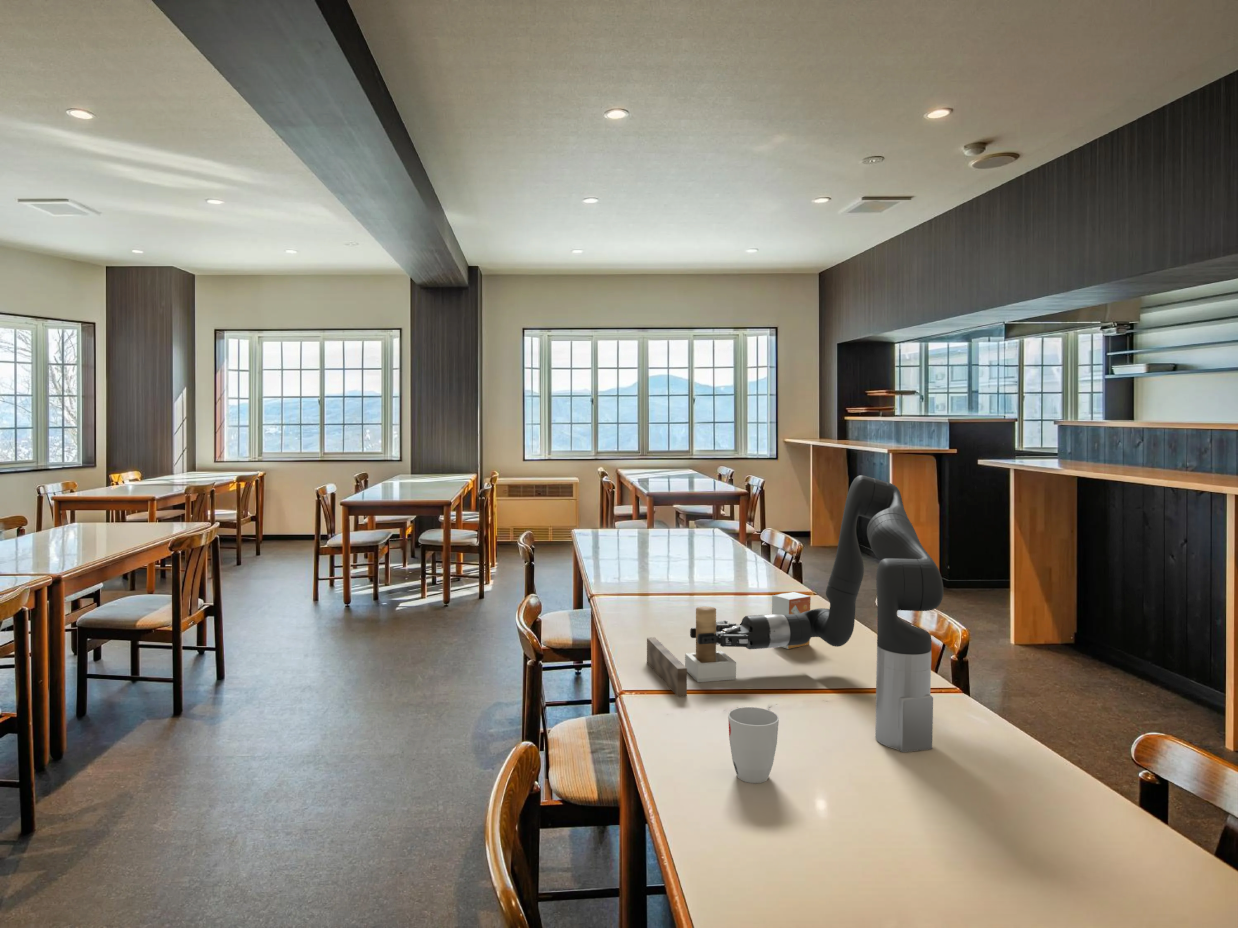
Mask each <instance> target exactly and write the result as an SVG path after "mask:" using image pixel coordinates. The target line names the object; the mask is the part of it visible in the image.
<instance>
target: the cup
mask: <svg viewBox="0 0 1238 928" xmlns="http://www.w3.org/2000/svg"><path fill="white" fill-rule="evenodd" d="M727 716H728V717H727V718H728V740H729V744H730V745H729V746H730V753H731V759H732V764H733V767H734V770H735V773H736V777H737V778H738V779H739V780H740V781H742V782H745V783H748V784H761V783H764V782H766V781H768V780H769V777H770V774H771V771H772V768H773V765H774V760H775V756H776V755H775V754H776V750H777V745H778V732H779V722H780V717H779V715H778V714H777V713H775V712H774V711H773V710H769V709H767V708H763V707H756V706H755V707H754V706H744V707H743V706H741V707H736V708H733V709H731V710H729V712H728V714H727Z"/></svg>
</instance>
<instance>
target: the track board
mask: <svg viewBox="0 0 1238 928" xmlns="http://www.w3.org/2000/svg"><path fill="white" fill-rule="evenodd" d="M646 663H647V664H648V665H649V666H650V668H651V669H652V670H653V671H654V672H655V673H656V674H657V676H659V678H660V679H661V680H662V682H664V684H665V685H666V686H667V687H668V688H669V689H670V690H671V691H672V692H673V693H674V694H675V696H676V697H679V698H680V697H688V691H687V690H688V686H687V685H688V672H687V668H686V667H685V664H683V662H681V661H680V660H679V659H678V658H677V657H676V656H675V655H674V654H673V653H672V652H671V651H670V650H669V649H668V648H667V647H666V646H665V645H664V644H663V643H662V642H660V640H659V639H658V638H657V637H655V636H654V637H647V638H646Z"/></svg>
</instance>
